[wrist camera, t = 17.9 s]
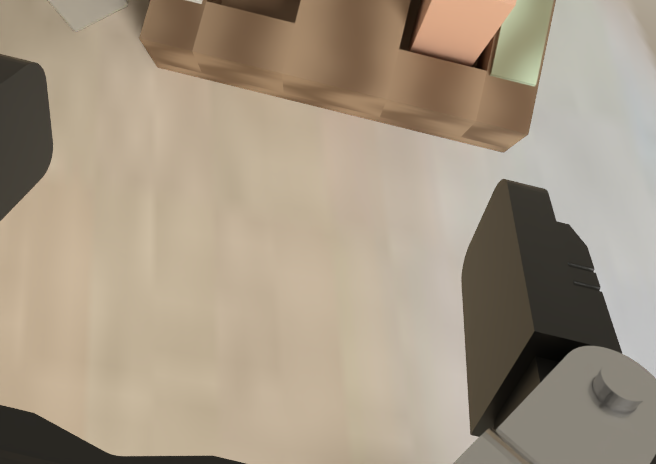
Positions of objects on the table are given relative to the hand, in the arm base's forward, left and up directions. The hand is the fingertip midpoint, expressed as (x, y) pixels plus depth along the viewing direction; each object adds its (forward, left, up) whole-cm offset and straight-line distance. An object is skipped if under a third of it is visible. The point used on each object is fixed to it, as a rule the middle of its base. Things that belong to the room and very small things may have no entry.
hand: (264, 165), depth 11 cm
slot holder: (0, +17, -29) cm, 33 cm away
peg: (+6, +17, -28) cm, 33 cm away
